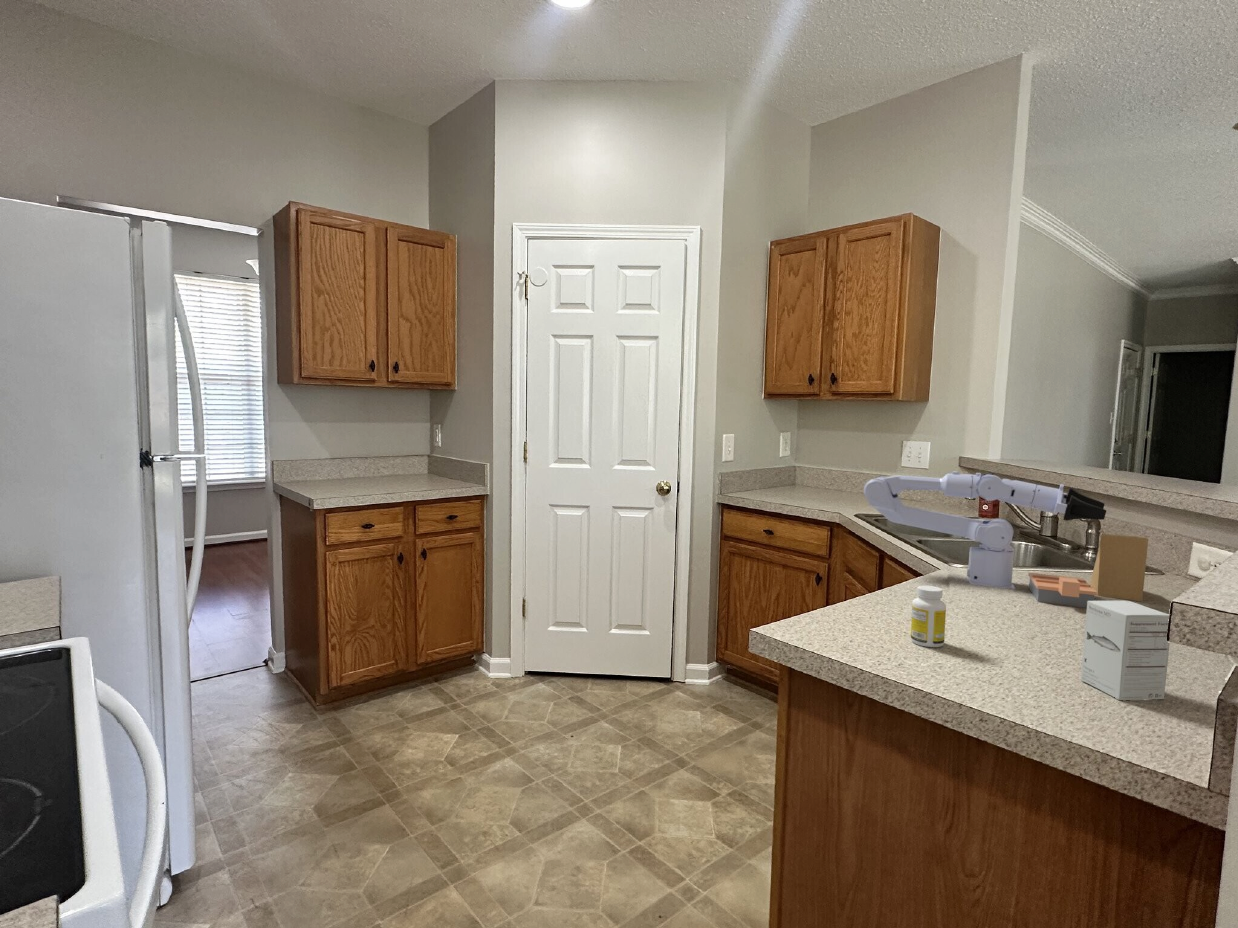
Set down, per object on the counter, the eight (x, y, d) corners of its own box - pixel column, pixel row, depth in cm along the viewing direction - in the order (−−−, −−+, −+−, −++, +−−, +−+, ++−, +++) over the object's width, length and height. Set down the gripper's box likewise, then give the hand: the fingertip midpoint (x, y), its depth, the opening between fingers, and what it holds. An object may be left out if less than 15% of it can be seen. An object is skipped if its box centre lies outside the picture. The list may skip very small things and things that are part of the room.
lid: (1040, 592, 140) (1041, 578, 139) (1028, 575, 156) (1029, 562, 155) (1101, 599, 135) (1102, 585, 135) (1082, 581, 151) (1083, 568, 151)
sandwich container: (1131, 589, 160) (1136, 528, 158) (1143, 604, 146) (1149, 537, 145) (1088, 584, 164) (1092, 524, 163) (1095, 598, 151) (1101, 533, 149)
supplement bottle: (941, 640, 119) (945, 586, 118) (946, 649, 113) (949, 593, 113) (908, 636, 120) (912, 582, 120) (911, 645, 115) (914, 590, 115)
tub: (1037, 604, 144) (1038, 588, 143) (1028, 590, 156) (1029, 575, 155) (1093, 611, 140) (1094, 594, 139) (1079, 596, 151) (1081, 581, 151)
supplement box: (1078, 680, 101) (1084, 599, 100) (1123, 680, 102) (1130, 599, 101) (1118, 701, 94) (1125, 614, 93) (1166, 700, 95) (1174, 614, 94)
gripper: (1037, 485, 148) (1111, 500, 141) (1039, 475, 160) (1107, 488, 153) (1029, 515, 149) (1102, 531, 142) (1031, 502, 161) (1098, 517, 154)
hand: (1104, 511), depth 147 cm, fingers open, 7 cm apart
